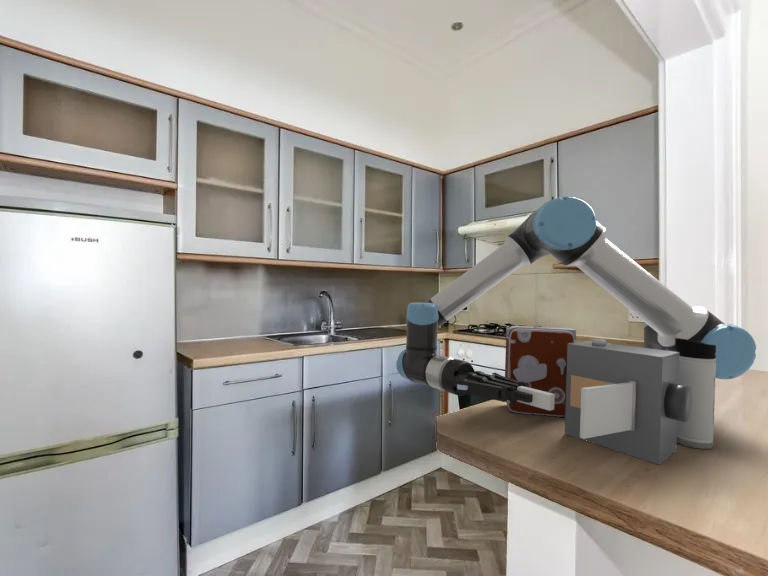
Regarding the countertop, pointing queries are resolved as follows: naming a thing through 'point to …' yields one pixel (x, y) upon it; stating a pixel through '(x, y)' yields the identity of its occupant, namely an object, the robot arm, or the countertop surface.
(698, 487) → the countertop surface
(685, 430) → the travel mug
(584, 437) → the side door
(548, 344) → the red printed tin
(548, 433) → the countertop surface
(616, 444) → the box
